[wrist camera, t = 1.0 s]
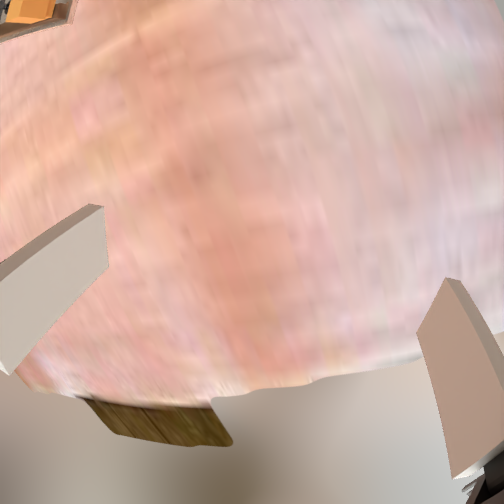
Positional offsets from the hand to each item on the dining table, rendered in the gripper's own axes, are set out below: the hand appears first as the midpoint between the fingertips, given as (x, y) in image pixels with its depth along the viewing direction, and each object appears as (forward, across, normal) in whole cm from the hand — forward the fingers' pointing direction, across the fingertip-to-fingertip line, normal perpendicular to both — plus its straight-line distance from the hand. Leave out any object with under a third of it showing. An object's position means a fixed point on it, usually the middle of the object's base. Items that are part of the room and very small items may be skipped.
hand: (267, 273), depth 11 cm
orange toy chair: (+24, -35, +21) cm, 47 cm away
